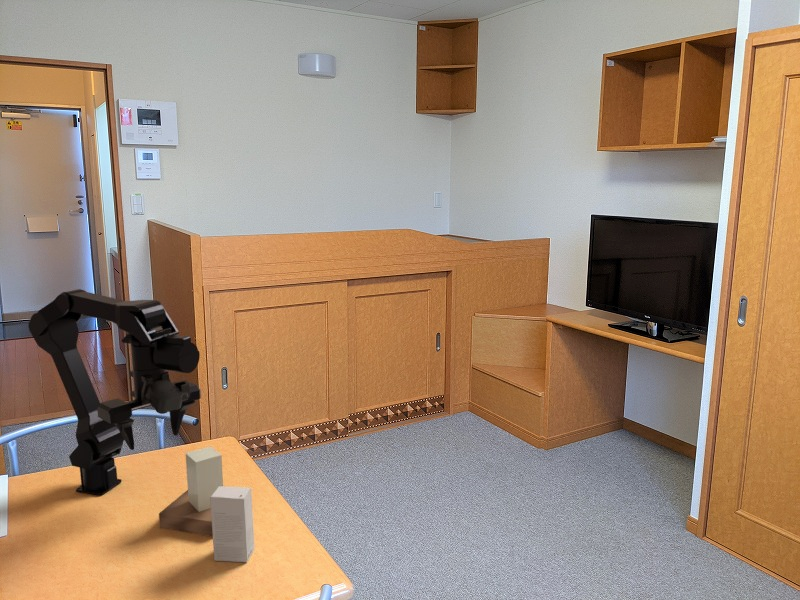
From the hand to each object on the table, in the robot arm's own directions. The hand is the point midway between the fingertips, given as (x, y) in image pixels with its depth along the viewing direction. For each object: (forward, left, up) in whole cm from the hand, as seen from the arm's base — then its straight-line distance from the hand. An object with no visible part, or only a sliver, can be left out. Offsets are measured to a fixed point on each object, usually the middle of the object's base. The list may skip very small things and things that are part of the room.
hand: (154, 442), depth 130 cm
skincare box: (+24, -12, -13) cm, 30 cm away
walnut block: (+12, -2, -14) cm, 18 cm away
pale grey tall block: (+12, -2, -10) cm, 16 cm away
